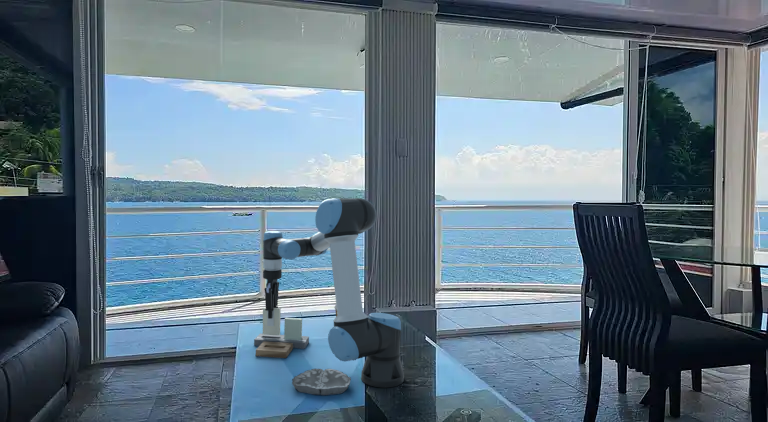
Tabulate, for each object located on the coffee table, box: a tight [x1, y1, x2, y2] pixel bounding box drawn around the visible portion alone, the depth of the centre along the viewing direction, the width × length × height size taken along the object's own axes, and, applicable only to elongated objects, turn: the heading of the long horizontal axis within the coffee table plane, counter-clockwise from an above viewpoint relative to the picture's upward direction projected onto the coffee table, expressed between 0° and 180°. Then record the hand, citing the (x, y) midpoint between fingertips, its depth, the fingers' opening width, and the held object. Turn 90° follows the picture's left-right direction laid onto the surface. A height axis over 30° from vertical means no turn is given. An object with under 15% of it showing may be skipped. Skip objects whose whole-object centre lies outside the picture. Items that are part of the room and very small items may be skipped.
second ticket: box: [283, 317, 303, 340], centre depth 216 cm, size 2×7×11 cm, turn 85°
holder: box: [255, 341, 294, 359], centre depth 207 cm, size 10×12×2 cm
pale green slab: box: [262, 306, 282, 335], centre depth 217 cm, size 2×7×11 cm, turn 85°
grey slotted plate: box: [253, 332, 310, 350], centre depth 217 cm, size 8×21×2 cm, turn 85°
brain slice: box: [291, 368, 352, 396], centre depth 177 cm, size 20×17×3 cm
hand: (271, 324), depth 217 cm, fingers closed on pale green slab, 2 cm apart
